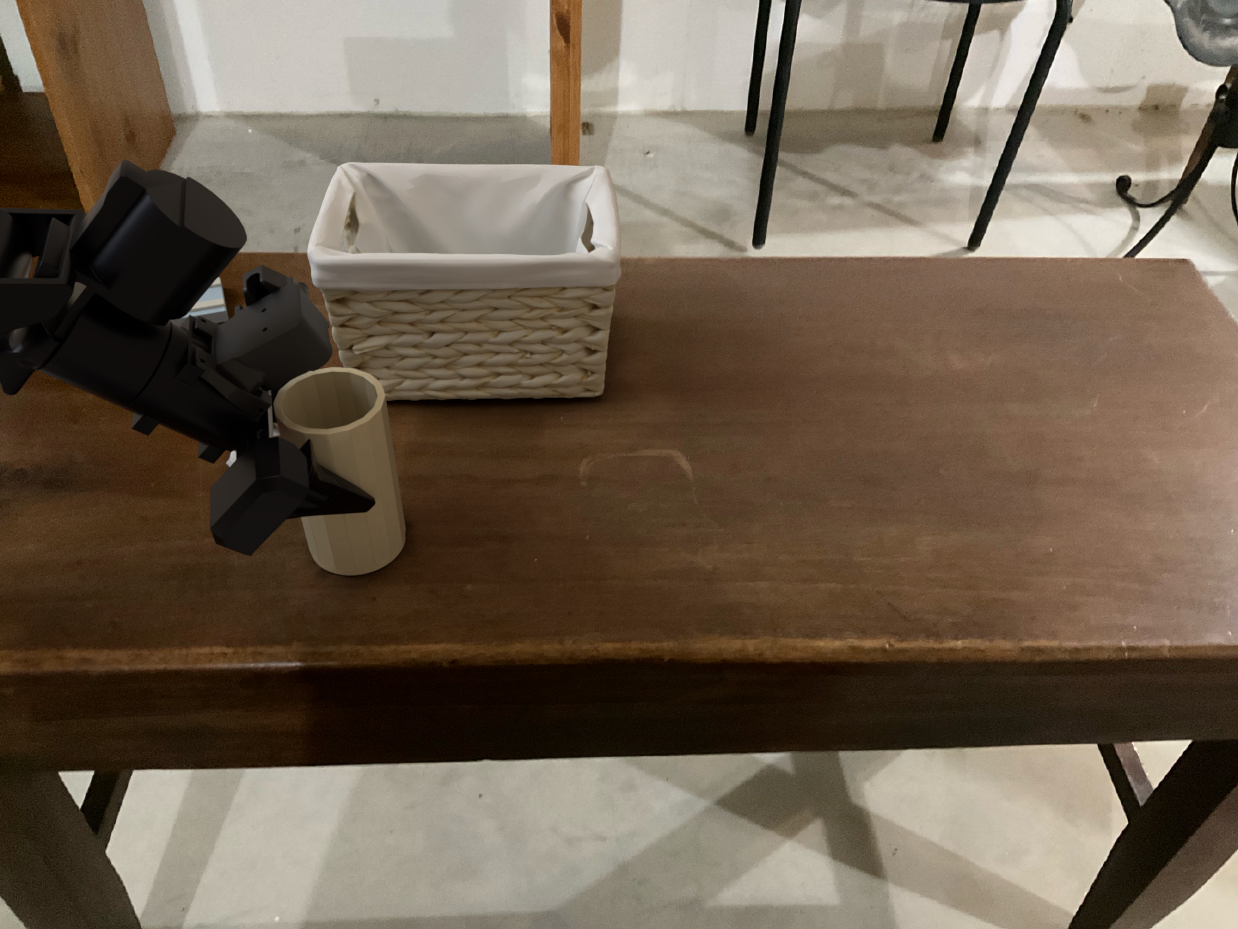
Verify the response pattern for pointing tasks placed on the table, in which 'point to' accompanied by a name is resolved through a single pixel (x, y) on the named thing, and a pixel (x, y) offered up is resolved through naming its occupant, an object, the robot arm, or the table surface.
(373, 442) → the cup
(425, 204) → the basket
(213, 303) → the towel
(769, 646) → the table surface
